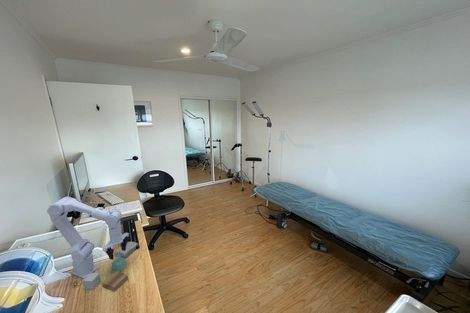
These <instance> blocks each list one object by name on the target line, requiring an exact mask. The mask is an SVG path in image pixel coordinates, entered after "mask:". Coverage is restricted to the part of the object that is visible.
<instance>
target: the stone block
mask: <svg viewBox="0 0 470 313" xmlns="http://www.w3.org/2000/svg"><path fill="white" fill-rule="evenodd" d="M137 245H138V246H139V243H138V242H135V241H128V243H127V245H126V250H125V251H123V250H122V249H121V246H120V247H119V248H117V249H116V250H114V257H116V258H118V257H121V258H124V259H127V258H128V257H129V256H130V255H131V254H133V252H135V251H136V250H137V249H136V246H137ZM135 249H136V250H135Z"/></svg>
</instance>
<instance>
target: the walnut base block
mask: <svg viewBox="0 0 470 313" xmlns="http://www.w3.org/2000/svg"><path fill="white" fill-rule="evenodd" d="M128 280H129V275H128V274H126V273H124V272H121V271H120V272H118V271H116V272H115V271H113V273H112V274H111V275H109V277H107V278H106V279H104V280H103V281H101V282H102V283H101V285H102V287H103V288H104V289H106V290H109V291H112V292H116V291H117V290H118V289H119V288H120V287H121V286H123V284H124V283H125V282H127V281H128Z"/></svg>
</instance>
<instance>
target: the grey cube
mask: <svg viewBox="0 0 470 313" xmlns="http://www.w3.org/2000/svg"><path fill="white" fill-rule="evenodd" d="M101 282H102V280H101V273H100V272H92V273H90V274H89V275H88V276H87V277H85V278H83V280H82V286H83V290H94V289H95V288H96V287H97V286H98V285H99V284H100V283H101Z"/></svg>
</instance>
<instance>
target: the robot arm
mask: <svg viewBox="0 0 470 313" xmlns="http://www.w3.org/2000/svg"><path fill="white" fill-rule="evenodd" d="M73 211H75V212H80V213H84V214H86V215H87V214H88V215H91V217H92V218H93V219H97V220H99V221H101V222H102V221H103V222H105V225H107V227H108V234H109V241H108V243H106V244H105V245H104V246H103V247H102V248H101V249H102V252H104V253H106V255H107V256H108V258H109V260H111V261H114V260H115V259H114V258H115V255H114V254H115V249H114V248H112V247H114V246H117V245H118V244H119V245H120V247H121V249H122V250H123V251H125V250H126V245H127V243H128V242H130V238H129V236H130V235H129V234H130V233H129V232H125V233H123V234H122V225H121V218H122V212H120V211H119V210H117V209H115V210H111V209H110V210H109V209H107V208H104V207H102V206H101V207H100V206H98V207H93V206H90V205H88V204H85V203H83V202H80V201H78V200H77V199H76V198H74V197H71V196H64V197H63V198H61V199H59V200H58V201H56V202H54V203H51V204H49V206H48V208H47V210H46V213H47V214H48V215H49V218H50V221H51V223H52V224H54V226H55V228H56V229H57V230H58V231H59V233H60V234H61V235H62V237H63V238H64V239H65V240H66V242H67V243H68V244H69V245H70V251H69V254H70V255H71V260H72V267H73V271H72V272H71V274H72V275H74V276H77V277H79V278H82V279H85V278H86V277H87V276H88V275H89V274H90V273H94V272H95V271H96V270H98V269H99V266H96V265H95V264H94V257H93V256H94V255H93V251H94V249H95V244H94V243H93V242H92V241H90V240H89V239H87V238H83V237H82V236H81V234H80V233H79V232H78V230H77V229H76V228H75V226H74V224H73V223H72V222H71V221H70V219H69V218H68V217H67V215H68V213H70V212H73Z"/></svg>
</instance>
